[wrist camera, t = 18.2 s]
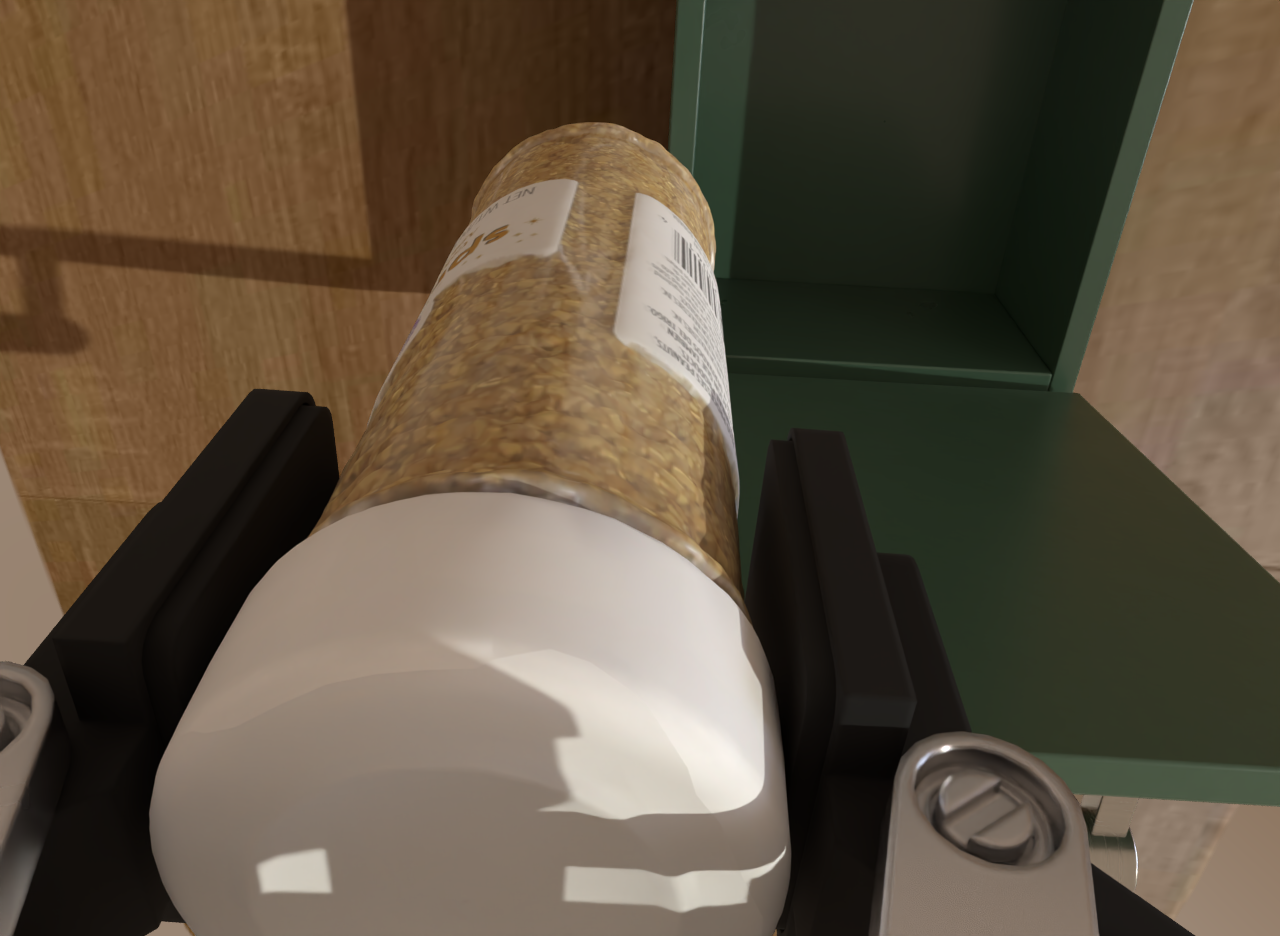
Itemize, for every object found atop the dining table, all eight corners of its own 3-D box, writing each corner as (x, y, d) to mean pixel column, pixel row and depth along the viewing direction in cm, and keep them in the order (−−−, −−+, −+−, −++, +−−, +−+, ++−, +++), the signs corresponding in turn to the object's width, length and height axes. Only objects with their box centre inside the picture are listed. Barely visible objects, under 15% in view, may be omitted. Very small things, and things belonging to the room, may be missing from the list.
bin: (689, -228, 30) (691, -254, 23) (1135, -205, 30) (1263, -224, 23) (659, 286, 39) (654, 373, 32) (1005, 306, 39) (1071, 397, 32)
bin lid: (634, 730, 16) (620, 965, 18) (1495, 782, 16) (1370, 1012, 18) (655, 368, 32) (646, 516, 34) (1079, 392, 31) (1042, 539, 34)
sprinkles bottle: (463, 113, 17) (31, 653, 6) (728, 121, 17) (844, 683, 5) (479, 354, 19) (203, 1076, 8) (711, 362, 19) (768, 1098, 8)
